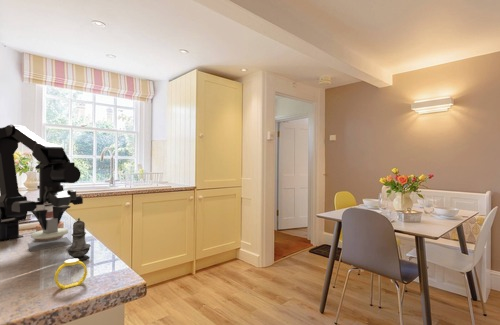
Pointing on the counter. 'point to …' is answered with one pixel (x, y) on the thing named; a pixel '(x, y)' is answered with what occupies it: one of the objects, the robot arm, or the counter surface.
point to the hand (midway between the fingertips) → (50, 228)
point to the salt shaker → (79, 242)
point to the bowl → (39, 228)
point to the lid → (50, 230)
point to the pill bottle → (49, 211)
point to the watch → (68, 263)
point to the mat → (49, 244)
